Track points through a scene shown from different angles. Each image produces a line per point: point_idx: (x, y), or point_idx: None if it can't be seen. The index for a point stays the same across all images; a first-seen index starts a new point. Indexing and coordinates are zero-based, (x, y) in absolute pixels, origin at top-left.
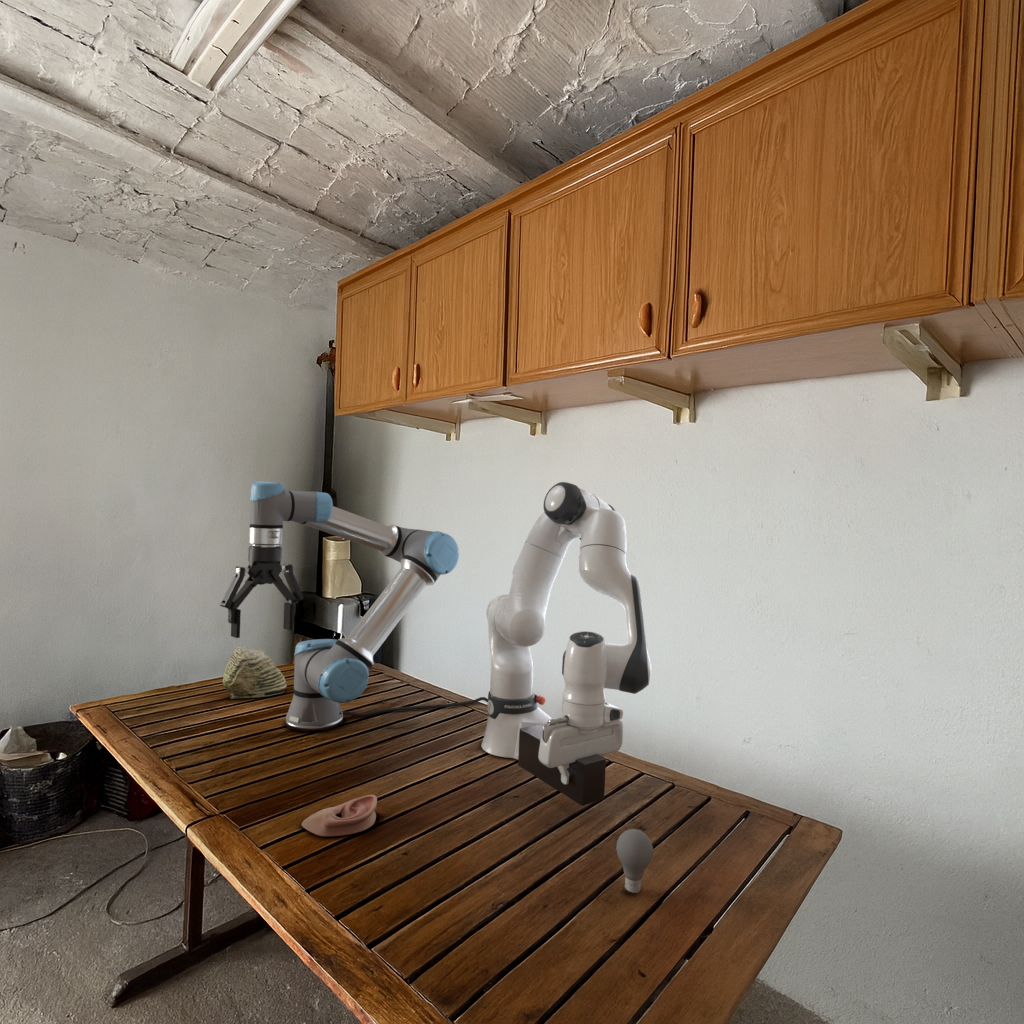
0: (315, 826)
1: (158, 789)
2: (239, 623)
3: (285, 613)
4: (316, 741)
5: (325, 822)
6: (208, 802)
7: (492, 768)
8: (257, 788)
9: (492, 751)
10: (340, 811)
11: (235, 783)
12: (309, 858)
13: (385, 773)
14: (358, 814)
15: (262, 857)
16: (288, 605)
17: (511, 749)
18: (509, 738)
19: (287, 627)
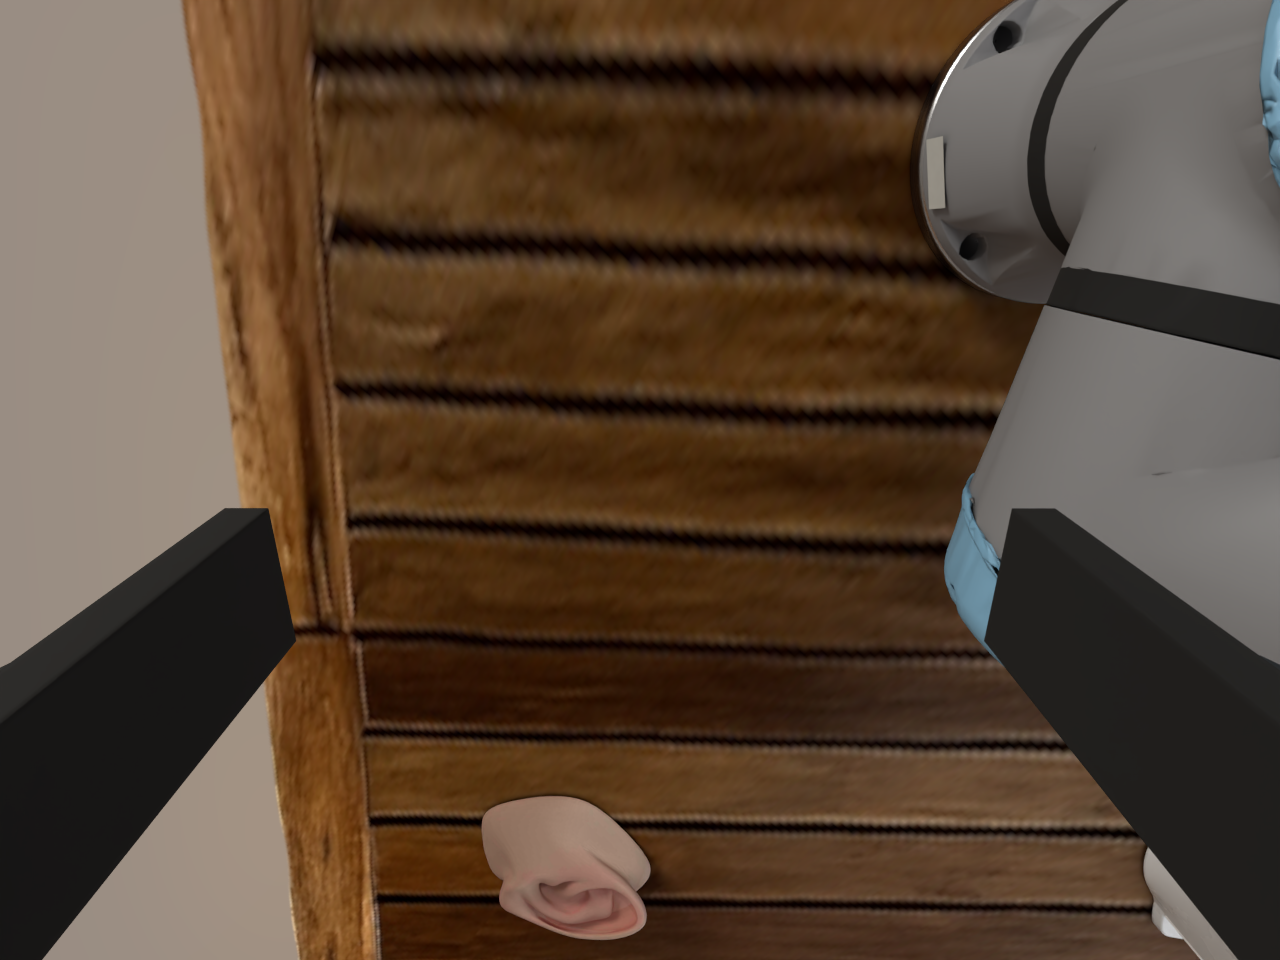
0: (494, 856)
1: (237, 361)
2: (176, 774)
3: (1158, 684)
4: (886, 371)
5: (499, 896)
6: (346, 556)
7: (1058, 894)
8: (499, 573)
9: (1153, 861)
10: (555, 885)
11: (461, 496)
12: (434, 905)
13: (839, 738)
14: (574, 923)
15: (358, 849)
16: (1274, 920)
17: (1172, 919)
18: (1200, 943)
19: (1006, 619)
